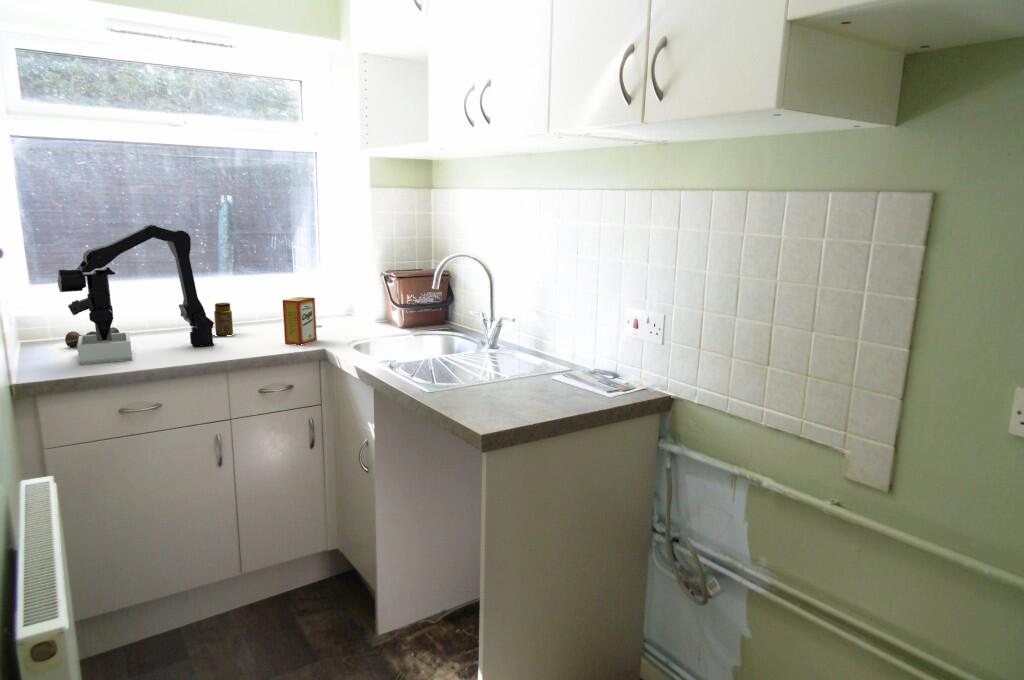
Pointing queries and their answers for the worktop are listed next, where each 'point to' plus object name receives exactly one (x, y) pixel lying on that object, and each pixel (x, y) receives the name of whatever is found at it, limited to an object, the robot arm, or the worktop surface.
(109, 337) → the block
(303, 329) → the baking soda box
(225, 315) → the condiment
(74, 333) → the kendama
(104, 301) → the robot arm
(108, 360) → the walled box
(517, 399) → the worktop surface
